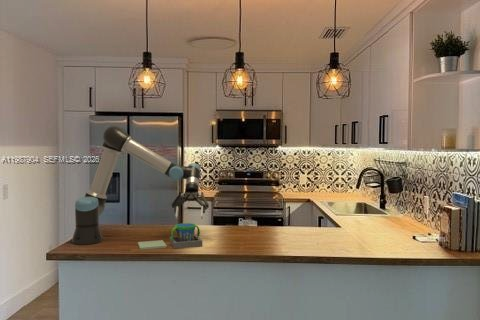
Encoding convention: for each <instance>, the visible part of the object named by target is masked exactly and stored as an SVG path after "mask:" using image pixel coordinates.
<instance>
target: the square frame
mask: <svg viewBox="0 0 480 320" xmlns="http://www.w3.org/2000/svg"><path fill="white" fill-rule="evenodd" d="M169 243H170V245H171V246H172V248H173V249H175V250H177V249H189V248H199V247H203V240H202V239H201V238H200V236H197V234H194V239H193V241H184V242H178V238H177V235H176V236H174V235H173V240H172V238H171V236H169Z"/></svg>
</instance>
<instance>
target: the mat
mask: <svg viewBox="0 0 480 320" xmlns="http://www.w3.org/2000/svg"><path fill="white" fill-rule="evenodd" d="M137 245H138V247H139V248H138V249H139V250H140V251H143V250H153V249H154V250H155V249H167V244H166V243H165V241H164V239H160V240H148V241H137Z"/></svg>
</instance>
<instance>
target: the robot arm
mask: <svg viewBox="0 0 480 320" xmlns="http://www.w3.org/2000/svg"><path fill="white" fill-rule="evenodd" d="M102 137H103V143H102V146H101V148H102V149H103V151H102V154H101V157H100V160H99V163H98V166H97V169H96V172H95V174H94V178H93V181H92V184H91V186H90V189H89V190H87V191H86V193H85V195H84V197H79V198H77V199H76V200H75V203H74V208H75V211H74V213H75V230H74V231H73V236H72V239H71V240H72V241H71V242H72V244H74V245H79V246H80V245H81V246H82V245H84V246H85V245H94V244H98V243H101V242H102V241H103V234H102V232H101V229H100V225H99V216H100V215H102V213H103V212H104V211H105V206H106V205H105V204H106V202H107V199H108V198H107V195H106V194H107V193H106V192H107V189H108V187H109V184H110V181H111V178H112V176H113V173H114V170H115V168H116V163H117V161H118V158H119V155H121V154H122V153H123V152H125V153H127V154H129V155H131V156H132V157H134V158H135V159H137V160H139V161H141V162H143V163H145V164H146V165H148V166H149V167H152V168H153V169H155V170H156V171H159V172H160V173H162V174H164V175H165V176H166V177H167V178H170V179H171V180H173V181H178V180H186V181H185V187H184V188H185V189H184V192H183V193H182V191H178V195H177V196H176V198H175V199H174V200H173V201H172V203H171V207H172V208H173V209H174V210H173V213H174V214H175V216H174V217H175V219H176V220H178V217H179V208H180V206H182V205H183V204H184V203H185V202H187V201H188V202H190V201H193V202H194V201H195V202H197V203H198V205H199V206H201V209H200V218H201V220H203V217H204V216H203V215H204V214H205V213H206V209H208V208H209V207H210V205H209V201H208V200H207V199H206V197H205V194H204V192H203V191H201V192H199V186H200V176H201V166H200V165H199V164H198V163H189V164H188V165H187V166H186V165H184V166H183V165H178V164H175V163H173V162H172V161H170V160H168V159H167V158H165V157H163V156H162V155H160V154H158V153H156V152H155V151H153V150H151V149H150V148H147V147H146V146H144V145H142V144H141V143H139V142H138V141H136V140H134V139H133V138H132V137H131V135H129V134H128V132H127V130H126V129H125V128H123V127H121V126H117V125H111V126H108V127H107V128H105V130H104V131H103V134H102ZM199 197H200V198H201V199H200V198H199Z"/></svg>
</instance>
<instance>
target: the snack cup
mask: <svg viewBox="0 0 480 320" xmlns="http://www.w3.org/2000/svg"><path fill="white" fill-rule="evenodd" d="M196 229H197V234H196V235H197V236H198V237H200V235H201V231H200V227H199V226H198V225H196V224H195V223H192V222H191V223H188V222H184V223H182V222H181V223H177V224H175V225H174V227H172V229H171V230H170V231H171V232H170V237H171V238H172V240H173V237H174V231H176V236H177V238H178V242H184V241H193V239H194V235H195V231H196Z"/></svg>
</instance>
